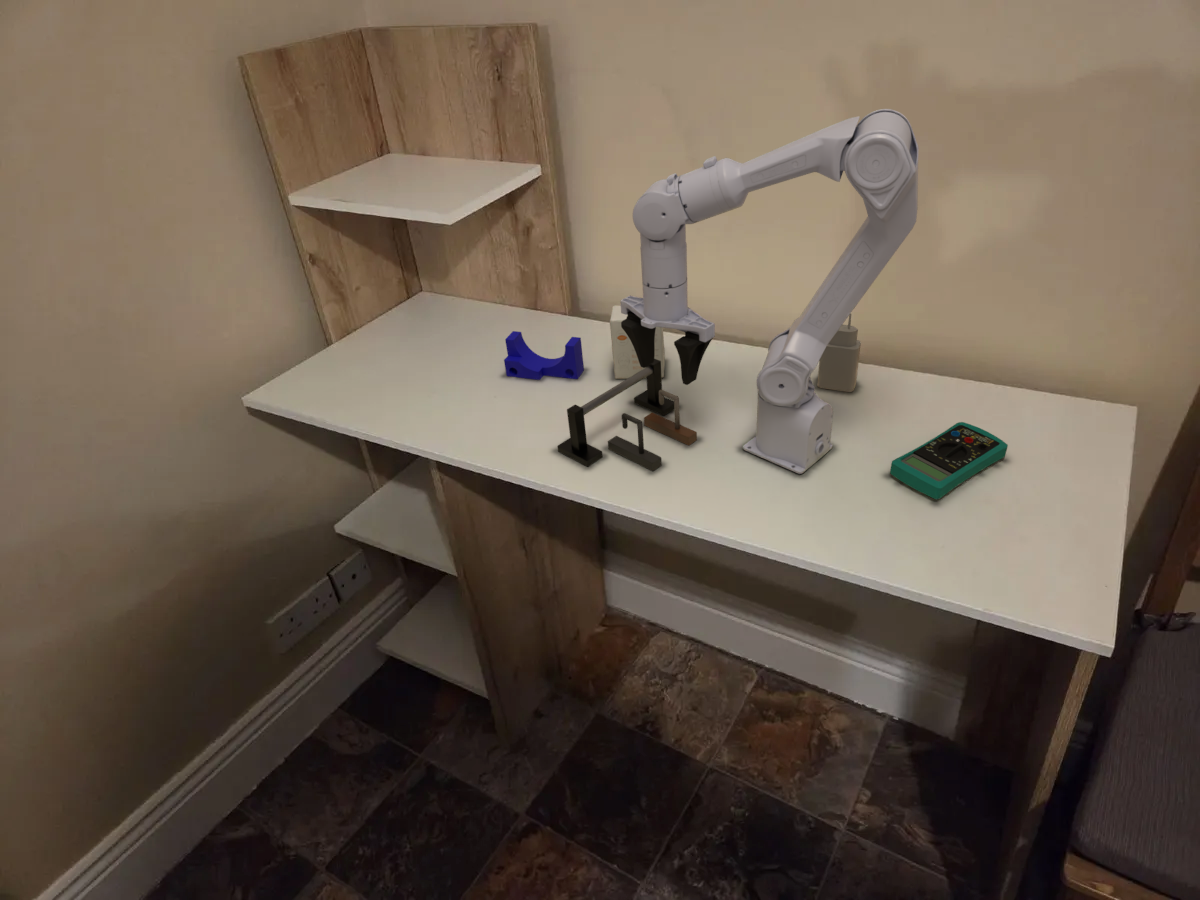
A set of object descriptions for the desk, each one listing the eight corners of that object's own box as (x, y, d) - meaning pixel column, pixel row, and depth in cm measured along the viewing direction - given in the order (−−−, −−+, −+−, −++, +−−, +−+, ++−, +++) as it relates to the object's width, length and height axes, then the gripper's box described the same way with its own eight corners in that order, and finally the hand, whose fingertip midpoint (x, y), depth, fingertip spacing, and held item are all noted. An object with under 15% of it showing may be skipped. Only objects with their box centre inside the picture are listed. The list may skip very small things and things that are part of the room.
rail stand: (677, 407, 121) (675, 363, 117) (587, 467, 111) (582, 421, 106) (647, 395, 125) (644, 351, 120) (557, 451, 114) (551, 406, 110)
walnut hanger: (697, 440, 114) (696, 400, 110) (688, 445, 113) (688, 405, 109) (652, 420, 119) (650, 381, 115) (644, 425, 118) (641, 386, 114)
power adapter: (852, 392, 120) (861, 319, 113) (816, 387, 122) (822, 315, 115) (856, 382, 122) (865, 310, 115) (820, 377, 124) (827, 305, 118)
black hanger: (661, 465, 110) (660, 424, 106) (653, 471, 109) (650, 430, 105) (617, 443, 115) (613, 403, 111) (608, 449, 114) (604, 409, 110)
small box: (665, 361, 133) (662, 302, 127) (664, 378, 128) (661, 318, 122) (616, 362, 134) (612, 304, 128) (614, 379, 129) (609, 320, 123)
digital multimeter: (1008, 457, 105) (1013, 438, 103) (935, 504, 98) (939, 485, 97) (958, 433, 110) (962, 415, 108) (886, 477, 104) (889, 458, 102)
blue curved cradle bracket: (506, 376, 133) (501, 343, 129) (517, 362, 136) (512, 331, 133) (574, 384, 129) (570, 350, 126) (584, 370, 132) (580, 337, 129)
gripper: (601, 277, 104) (609, 368, 112) (689, 305, 96) (690, 402, 103) (638, 259, 108) (643, 348, 116) (725, 284, 99) (724, 379, 107)
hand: (667, 372), depth 110 cm, fingers open, 7 cm apart
